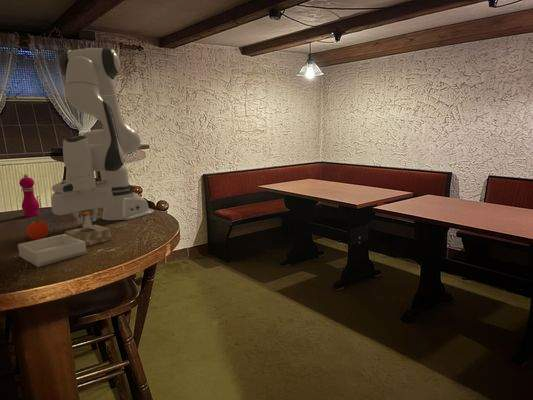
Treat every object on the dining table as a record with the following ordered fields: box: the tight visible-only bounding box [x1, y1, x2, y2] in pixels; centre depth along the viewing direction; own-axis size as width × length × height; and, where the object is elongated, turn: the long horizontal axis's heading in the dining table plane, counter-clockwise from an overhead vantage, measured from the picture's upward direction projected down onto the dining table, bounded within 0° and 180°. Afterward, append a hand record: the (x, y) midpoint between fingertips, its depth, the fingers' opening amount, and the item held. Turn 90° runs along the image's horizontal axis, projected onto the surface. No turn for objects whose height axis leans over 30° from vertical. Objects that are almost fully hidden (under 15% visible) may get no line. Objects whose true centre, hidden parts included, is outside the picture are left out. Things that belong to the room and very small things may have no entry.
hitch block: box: [64, 224, 112, 247], centre depth 134 cm, size 11×11×4 cm
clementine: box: [26, 220, 50, 241], centre depth 138 cm, size 8×7×7 cm
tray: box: [17, 233, 88, 268], centre depth 119 cm, size 14×16×4 cm
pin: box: [80, 209, 93, 232], centre depth 133 cm, size 3×3×10 cm
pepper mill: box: [18, 173, 40, 218], centre depth 180 cm, size 7×7×20 cm
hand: (86, 222), depth 133 cm, fingers closed on pin, 3 cm apart
